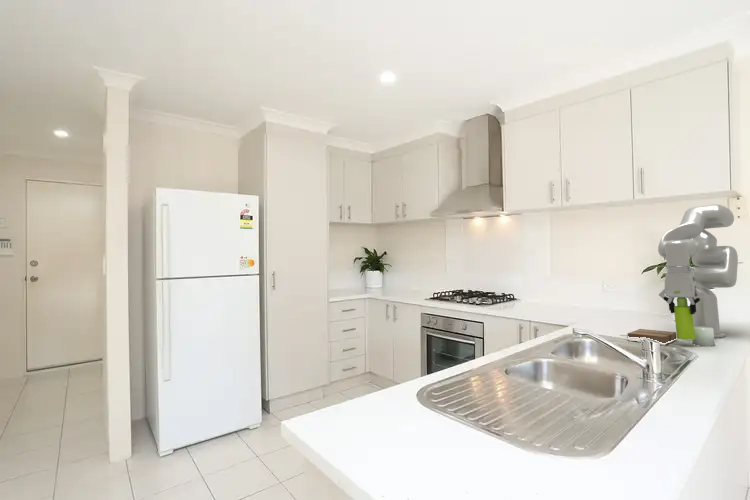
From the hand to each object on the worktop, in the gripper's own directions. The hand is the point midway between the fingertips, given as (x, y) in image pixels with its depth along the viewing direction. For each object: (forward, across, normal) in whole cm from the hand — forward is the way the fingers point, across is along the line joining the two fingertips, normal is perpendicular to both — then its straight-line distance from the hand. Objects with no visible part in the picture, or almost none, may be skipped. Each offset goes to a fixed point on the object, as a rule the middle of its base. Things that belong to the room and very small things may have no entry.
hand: (682, 312), depth 157 cm
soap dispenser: (+11, 0, 0) cm, 11 cm away
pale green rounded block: (+14, -4, -7) cm, 16 cm away
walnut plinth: (+14, +13, -3) cm, 19 cm away
